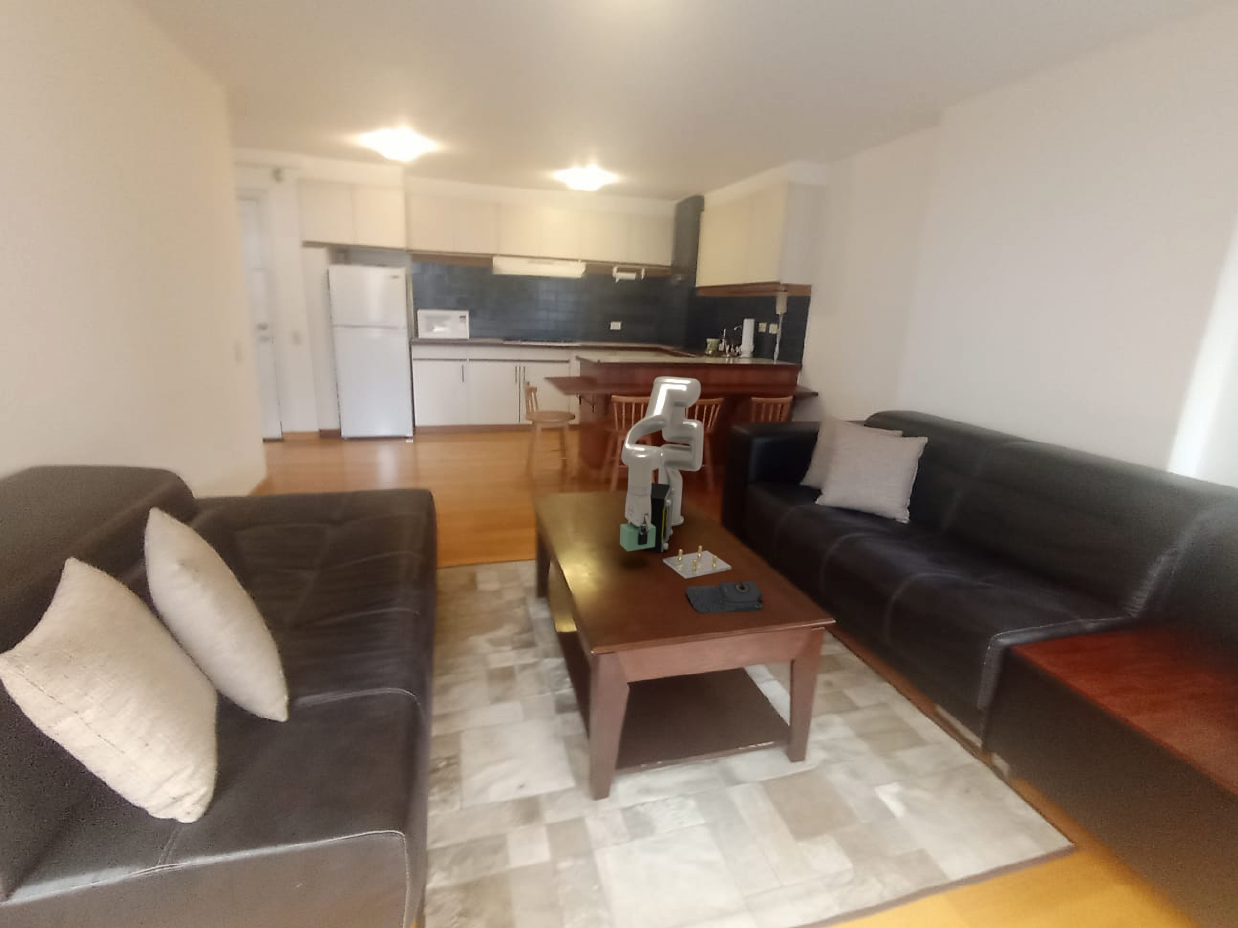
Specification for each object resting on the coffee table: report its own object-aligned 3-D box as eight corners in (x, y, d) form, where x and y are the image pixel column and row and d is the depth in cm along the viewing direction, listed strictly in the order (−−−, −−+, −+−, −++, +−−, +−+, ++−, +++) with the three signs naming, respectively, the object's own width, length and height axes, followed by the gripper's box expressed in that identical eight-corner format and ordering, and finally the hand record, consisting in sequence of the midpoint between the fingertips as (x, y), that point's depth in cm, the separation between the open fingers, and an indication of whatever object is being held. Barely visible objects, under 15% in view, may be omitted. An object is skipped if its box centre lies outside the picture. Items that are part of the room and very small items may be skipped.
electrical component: (667, 553, 202) (670, 499, 197) (638, 550, 204) (641, 496, 199) (672, 535, 219) (676, 485, 214) (646, 532, 221) (648, 482, 216)
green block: (619, 544, 192) (620, 522, 190) (646, 539, 196) (647, 518, 194) (627, 551, 187) (628, 529, 185) (654, 546, 191) (655, 525, 189)
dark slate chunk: (681, 590, 177) (682, 576, 176) (748, 587, 181) (750, 573, 180) (695, 616, 163) (697, 601, 161) (769, 612, 167) (770, 597, 165)
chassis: (663, 561, 196) (663, 549, 195) (706, 553, 204) (707, 541, 203) (685, 578, 184) (686, 565, 183) (731, 569, 192) (732, 556, 191)
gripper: (617, 482, 192) (615, 532, 197) (642, 499, 177) (640, 552, 182) (637, 479, 195) (635, 529, 200) (663, 496, 180) (660, 548, 185)
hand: (637, 539), depth 191 cm, fingers closed on green block, 6 cm apart
